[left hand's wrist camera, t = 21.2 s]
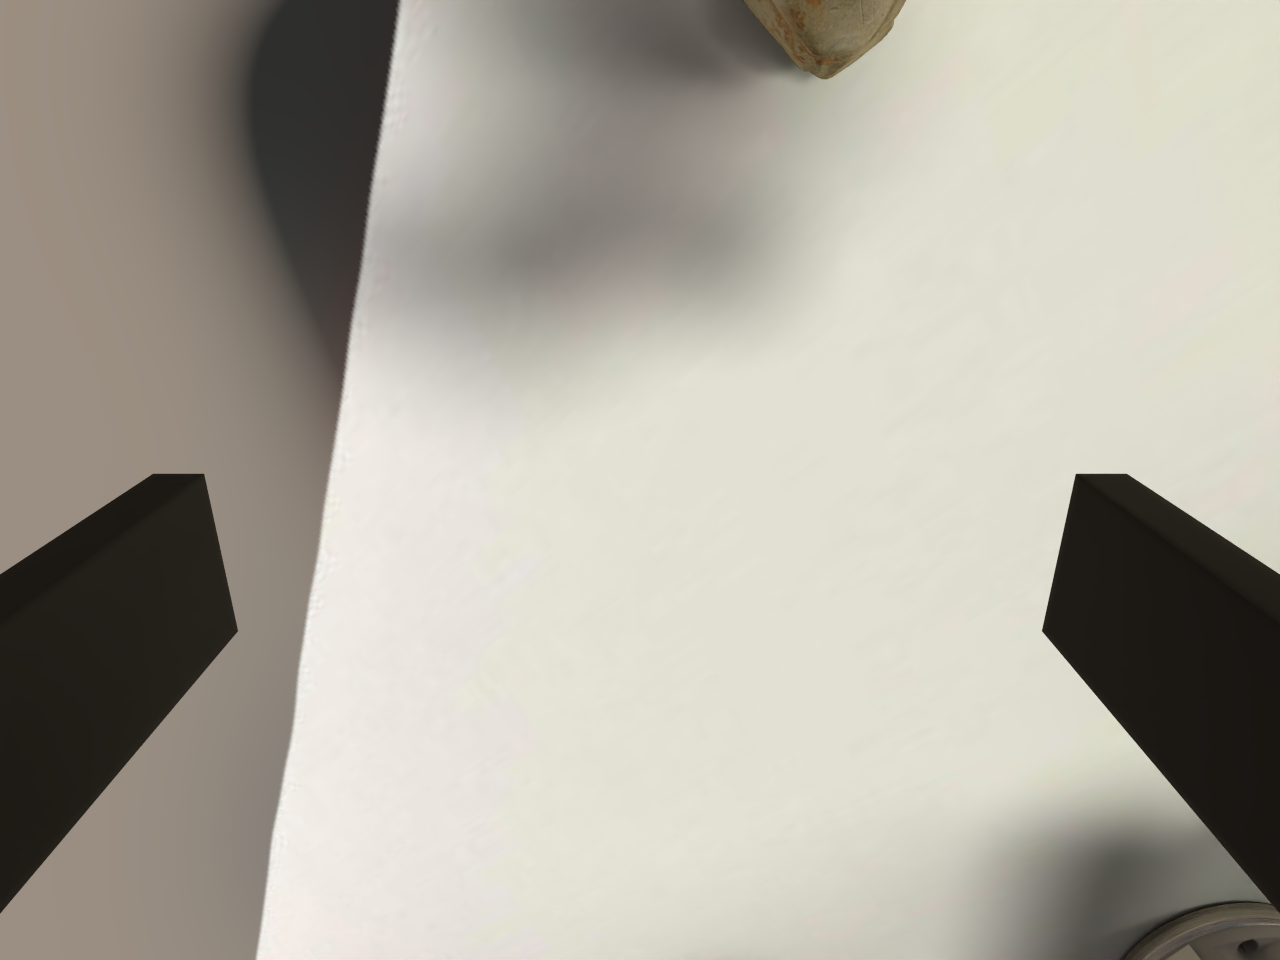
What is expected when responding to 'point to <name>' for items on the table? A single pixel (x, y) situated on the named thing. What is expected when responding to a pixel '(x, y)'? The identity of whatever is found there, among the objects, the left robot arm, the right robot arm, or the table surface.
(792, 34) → the sculpture
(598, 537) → the table surface
